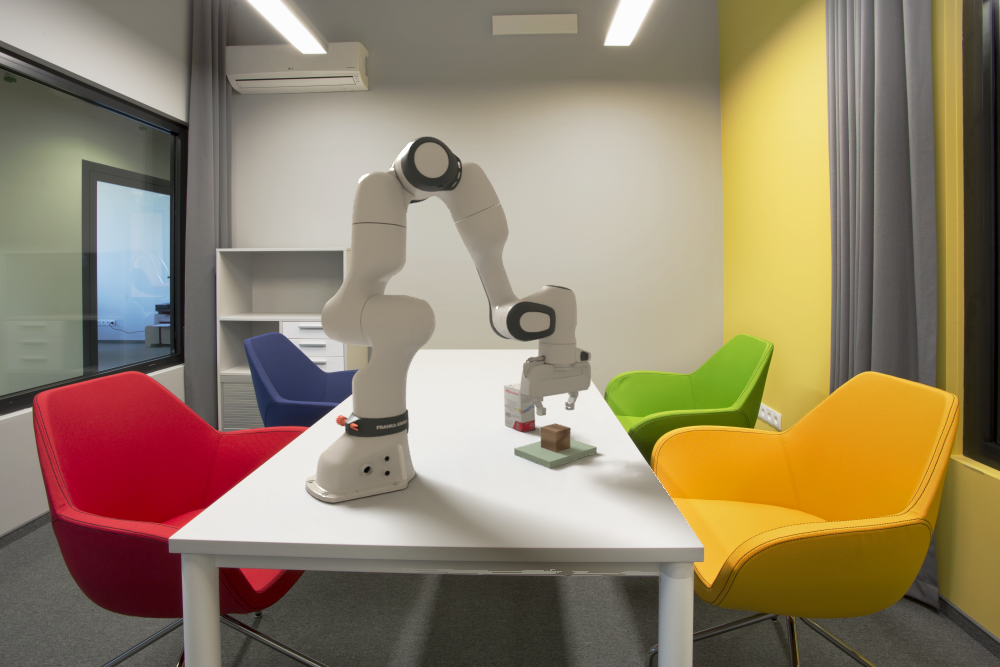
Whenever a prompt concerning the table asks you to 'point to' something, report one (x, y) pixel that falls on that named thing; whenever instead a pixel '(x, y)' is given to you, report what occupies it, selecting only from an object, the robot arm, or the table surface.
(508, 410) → the ink box
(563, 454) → the sage board
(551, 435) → the walnut cube
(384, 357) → the robot arm
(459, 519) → the table surface
